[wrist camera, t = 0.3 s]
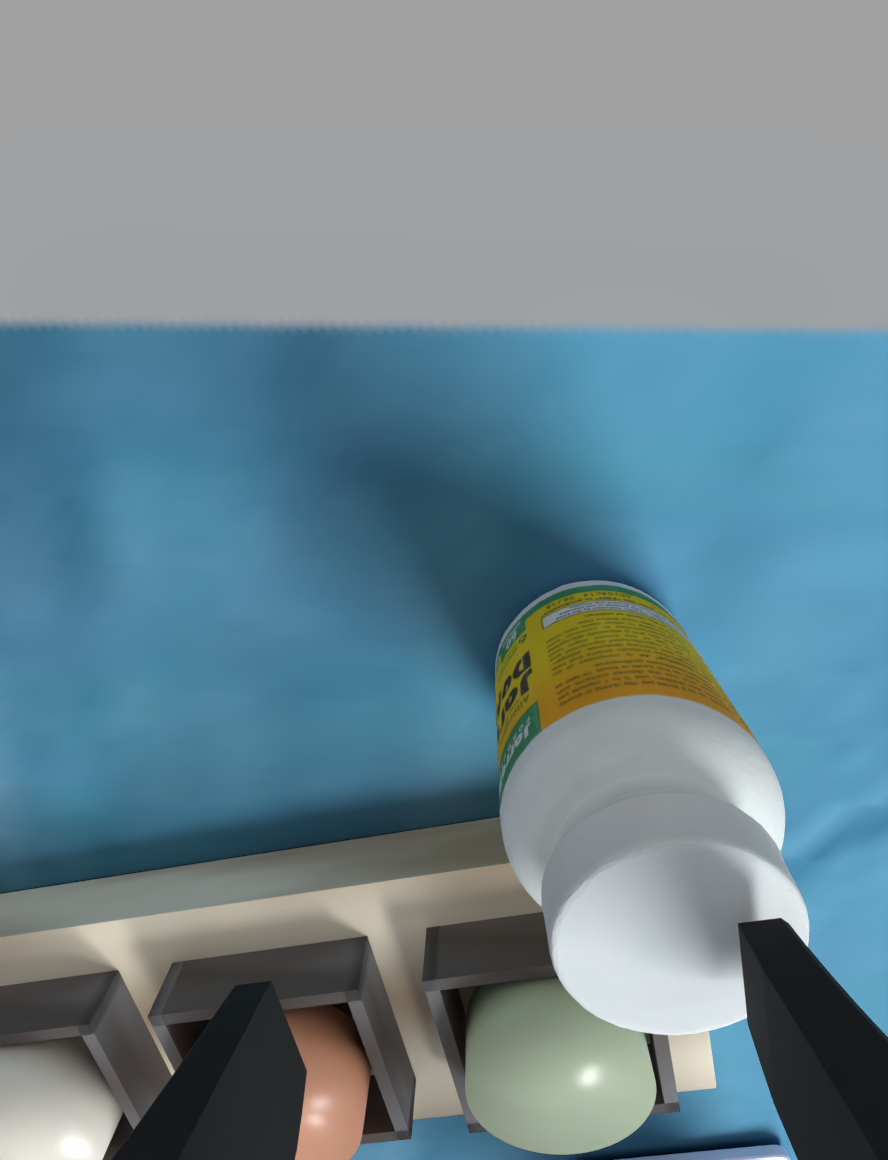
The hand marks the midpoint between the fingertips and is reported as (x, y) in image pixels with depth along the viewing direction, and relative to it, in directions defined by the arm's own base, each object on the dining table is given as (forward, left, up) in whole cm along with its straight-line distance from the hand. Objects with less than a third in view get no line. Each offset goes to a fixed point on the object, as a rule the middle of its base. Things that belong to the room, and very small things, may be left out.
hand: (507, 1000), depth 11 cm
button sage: (-10, 0, -7) cm, 12 cm away
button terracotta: (-10, +8, -7) cm, 14 cm away
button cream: (-10, +16, -7) cm, 20 cm away
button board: (-10, +8, -10) cm, 16 cm away
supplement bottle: (0, -3, -10) cm, 11 cm away
